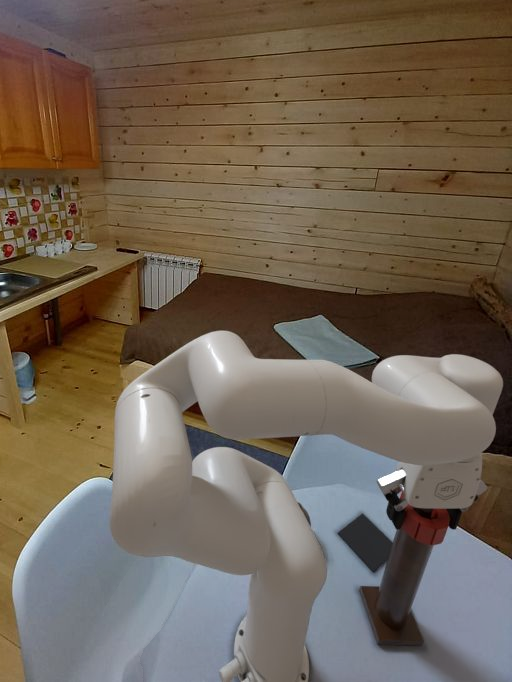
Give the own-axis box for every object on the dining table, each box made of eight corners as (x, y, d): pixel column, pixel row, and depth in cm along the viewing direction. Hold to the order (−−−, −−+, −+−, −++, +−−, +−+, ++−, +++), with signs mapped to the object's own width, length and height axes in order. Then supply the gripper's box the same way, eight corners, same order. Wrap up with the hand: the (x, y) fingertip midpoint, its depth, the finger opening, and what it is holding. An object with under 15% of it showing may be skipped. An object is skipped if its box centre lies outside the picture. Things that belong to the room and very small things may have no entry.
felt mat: (372, 572, 71) (373, 571, 71) (337, 533, 78) (337, 532, 78) (398, 549, 75) (398, 547, 75) (362, 514, 83) (362, 513, 83)
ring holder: (377, 644, 60) (413, 530, 51) (358, 590, 68) (387, 482, 58) (422, 645, 60) (467, 532, 51) (398, 591, 68) (434, 483, 58)
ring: (430, 554, 51) (436, 538, 50) (386, 515, 57) (391, 499, 56) (452, 531, 55) (458, 515, 54) (409, 496, 60) (414, 481, 59)
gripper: (403, 457, 46) (378, 545, 52) (528, 458, 47) (490, 545, 52) (376, 417, 53) (357, 498, 59) (485, 418, 54) (456, 499, 59)
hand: (420, 520), depth 56 cm, fingers open, 8 cm apart
